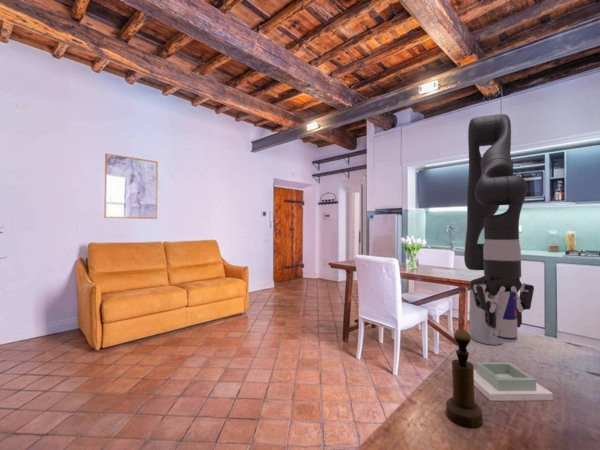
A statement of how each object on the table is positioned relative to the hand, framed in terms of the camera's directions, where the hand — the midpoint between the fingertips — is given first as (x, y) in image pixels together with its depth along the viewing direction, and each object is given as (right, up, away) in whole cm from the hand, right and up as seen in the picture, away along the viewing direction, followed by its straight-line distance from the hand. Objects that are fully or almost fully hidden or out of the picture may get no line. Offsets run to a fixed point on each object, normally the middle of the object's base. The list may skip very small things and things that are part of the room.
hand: (503, 326), depth 70 cm
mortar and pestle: (-16, -15, -11) cm, 25 cm away
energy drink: (0, -3, 0) cm, 3 cm away
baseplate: (0, -15, 0) cm, 15 cm away
